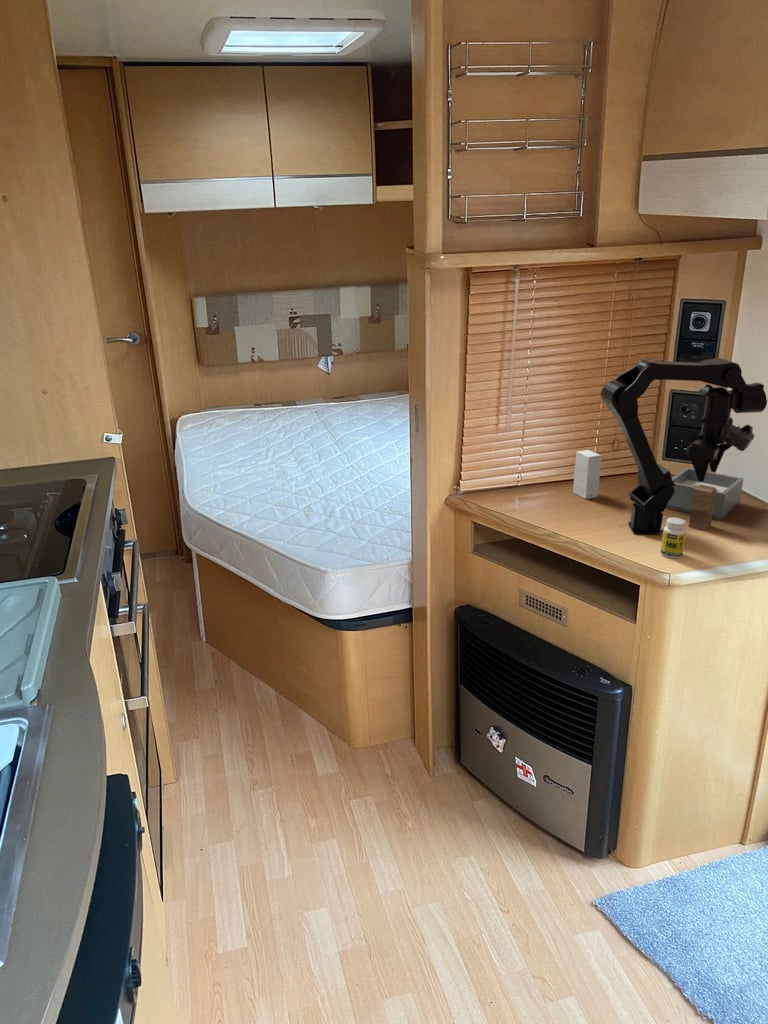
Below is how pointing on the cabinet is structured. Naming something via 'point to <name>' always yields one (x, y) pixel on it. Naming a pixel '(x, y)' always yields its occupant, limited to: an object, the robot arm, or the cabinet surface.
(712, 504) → the walnut peg
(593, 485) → the skincare box
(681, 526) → the supplement bottle
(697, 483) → the peg socket
